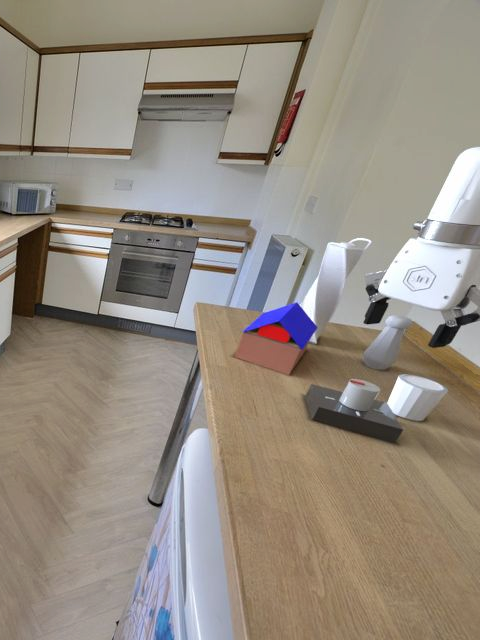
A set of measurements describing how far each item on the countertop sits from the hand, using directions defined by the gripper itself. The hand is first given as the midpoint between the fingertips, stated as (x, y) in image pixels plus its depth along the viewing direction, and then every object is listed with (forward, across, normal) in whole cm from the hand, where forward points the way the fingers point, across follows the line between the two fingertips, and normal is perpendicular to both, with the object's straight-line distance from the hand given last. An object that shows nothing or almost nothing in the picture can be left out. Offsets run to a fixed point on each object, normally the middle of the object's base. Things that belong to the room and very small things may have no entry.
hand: (401, 334), depth 71 cm
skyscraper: (+18, -33, +28) cm, 47 cm away
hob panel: (+18, -1, -1) cm, 18 cm away
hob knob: (+15, -1, -1) cm, 15 cm away
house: (+18, -26, +9) cm, 33 cm away
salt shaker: (+19, -17, +30) cm, 39 cm away
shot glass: (+19, 0, +13) cm, 23 cm away
